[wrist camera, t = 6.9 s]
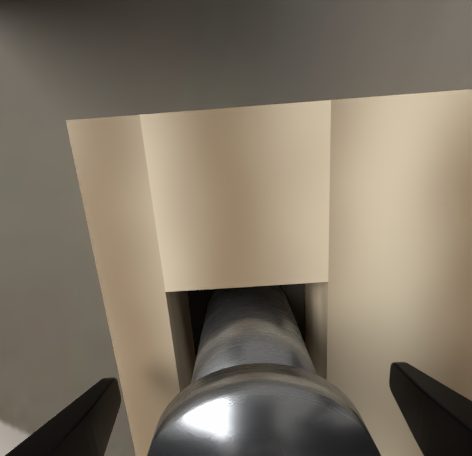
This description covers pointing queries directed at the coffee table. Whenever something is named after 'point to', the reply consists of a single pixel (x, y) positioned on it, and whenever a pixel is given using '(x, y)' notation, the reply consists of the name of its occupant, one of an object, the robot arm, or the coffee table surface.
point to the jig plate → (288, 238)
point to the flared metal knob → (258, 389)
